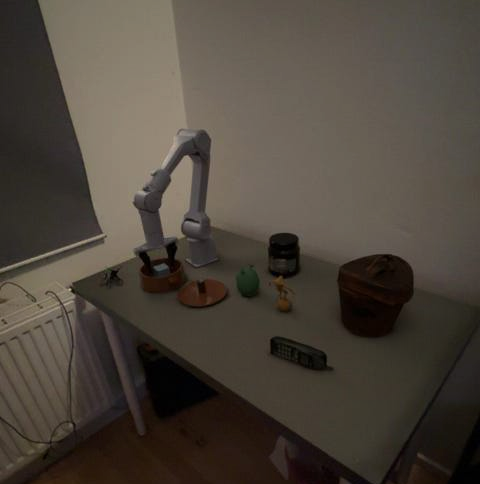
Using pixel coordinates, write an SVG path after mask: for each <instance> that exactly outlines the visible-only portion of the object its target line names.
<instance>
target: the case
mask: <svg viewBox="0 0 480 484" xmlns="http://www.w3.org/2000/svg"><path fill="white" fill-rule="evenodd" d="M414 275H415V274H414V270H413V268H412V266H411V264H410V263H409V262H408V261H407V260H406V259H404V258H402V257H401V256H399V255H395V254H391V253H377V254H370V255H365V256H362V257H359V258H355V259H353V260H350V261H347V262H346V263H343V264H341V265H340V266H339V268H338V274H337V278H336V283H337V288H338V297H339V306H340V318H341V323H342V325H343V326H344V328H345V329H347V330H348V331H349V332H351V333H353V334H355V335H358V336H362V337H368V338H375V337H377V338H378V337H382V336H384V335H387V334H390V333H391V332H392V331H393V328H394V326H395V323H396V321H397V320H398V317H399V315H400V313H401V312H402V309H403V308H404V306H405V304H408V303H409V302H410V301H411V300H412V298H413V297H414V294H415V288H414V287H415V286H414V285H415V284H414V283H415V276H414Z"/></svg>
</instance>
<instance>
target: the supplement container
mask: <svg viewBox="0 0 480 484" xmlns="http://www.w3.org/2000/svg"><path fill="white" fill-rule="evenodd" d="M268 244H269V245H268V246H267V259H268V260H267V262H268V265H267V268H268V269H267V270H268V272H269V273H270V274H271V275H273V276H275V277H278V278H279V277H280V276H282V277H283V278H289V277H292V276H295V275H296V274H297V273H298V272H299V271H300V252H301V247H300V245H299V244H300V238H299V236H298V235H297V234H295V233H292V232H278V233H274V234H272V235H270V236H269V238H268Z"/></svg>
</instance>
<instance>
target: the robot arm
mask: <svg viewBox="0 0 480 484" xmlns="http://www.w3.org/2000/svg"><path fill="white" fill-rule="evenodd" d="M172 142H173V144H172V146H171V147H170V150H169V151H168V153H167V155H166V157H165V159H164V161H163V163H162V165H161V166H160V168H155V169H154V170H152V171H151V172H150V176H149V178H148V179H147V181H146V182H145V184H144V185H143V186H142V189H140V190H138V191H137V192H136V193H135V194H134V197H133V201H132V204H133V206H134V208H136V209H137V211H138V214H139V217H140V221H141V226H142V230H143V234H144V239H145V243H143V244H141V245H139V246H137V247H134V248H132V251H133V255H134V256H136V257H138V258H139V259H140V260H141V261H142V263H143V264H145V266H146V268H147V270H148V272H149V273H150V274H152V268H151V264H150V259H151V256H150V255H149V252H153V251H155V250H163V249H164V248H165V251H166V254H167V257H168V261H169V264H170V265H171V266H174V258H175V257H176V254H177V251H178V245H177V244H179V243H180V242H179V238H178V236H176V235H174V236H170V237H165V236H164V229H163V224H162V220H161V214H160V209H161V207H162V203H163V196H164V194H165V193H166V190H167V189H168V187H169V186H170V184H171V182H172V176H171V175H172V174H173V172H174V171H175V170H176V168H177V167H178V166H179V164H180V163H181V162H182V160H183V159H184V157H186V156H188V157H189V158H190V159H191V161H192V163H193V164H192V172H191V173H192V174H191V186H190V197H189V207H188V208H189V209H188V210H187V212H186V213H184V214H183V219H182V222H181V225H180V230H181V231H180V232H181V234H182V235H183V236H185V239H186V240H187V248H188V253H189V258H186V259H185V260H186V262H188V263H189V264H190V265H191V266H193V267H194V268H199V267H203V266H205V265H208V264H210V263H213V262H216V261H219V258H218V253H217V247H216V241H215V238H214V237H213V236H212V235H211V234H212V226H211V219H210V217H209V216H208V214H207V213H206V205H207V195H208V188H209V187H208V186H209V177H210V169H211V168H210V167H211V148H212V138H211V136H210V135H209V133H208V132H207V131H206V130H205V129H186V128H179V130H177V132H176V134H175V136H174V137H173V139H172Z"/></svg>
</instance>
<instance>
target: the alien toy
mask: <svg viewBox="0 0 480 484" xmlns="http://www.w3.org/2000/svg"><path fill="white" fill-rule="evenodd" d="M248 266H249V267H250V268H244V267H241V268H239V272H238V273H237V274H236V275H235V281H236V288H237V290H238V292H239V293H240V294H241V295H243V296H245V297H251V296H254V295H255V294H256V293H257V292H258V291H259V288H260V283H261V282H260V277H259V275H258V273H257V272H256V271H255V270H254V269H253V268H254V267H255V264H254V263H249V264H248Z"/></svg>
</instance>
